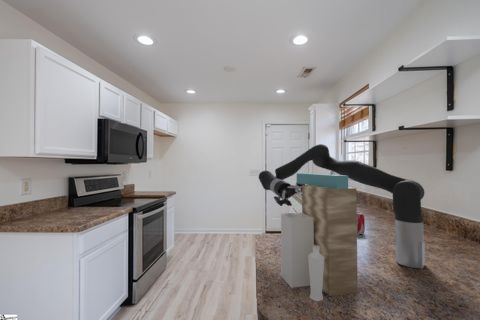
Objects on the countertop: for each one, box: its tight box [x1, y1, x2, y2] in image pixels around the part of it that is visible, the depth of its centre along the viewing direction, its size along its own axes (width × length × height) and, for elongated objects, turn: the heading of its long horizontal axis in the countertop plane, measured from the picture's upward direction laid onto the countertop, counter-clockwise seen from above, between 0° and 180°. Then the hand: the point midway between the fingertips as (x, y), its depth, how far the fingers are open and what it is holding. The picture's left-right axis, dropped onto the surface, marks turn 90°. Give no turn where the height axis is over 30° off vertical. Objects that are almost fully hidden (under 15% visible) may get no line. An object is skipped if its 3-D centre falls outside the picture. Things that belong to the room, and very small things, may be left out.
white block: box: [280, 212, 314, 289], centre depth 79 cm, size 8×8×22 cm
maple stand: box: [301, 184, 359, 297], centre depth 79 cm, size 16×10×32 cm, turn 14°
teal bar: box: [296, 172, 349, 189], centre depth 84 cm, size 26×4×4 cm, turn 14°
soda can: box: [357, 211, 366, 235], centre depth 136 cm, size 7×7×12 cm
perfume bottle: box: [308, 245, 324, 302], centre depth 69 cm, size 5×4×15 cm
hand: (298, 198), depth 96 cm, fingers open, 8 cm apart
